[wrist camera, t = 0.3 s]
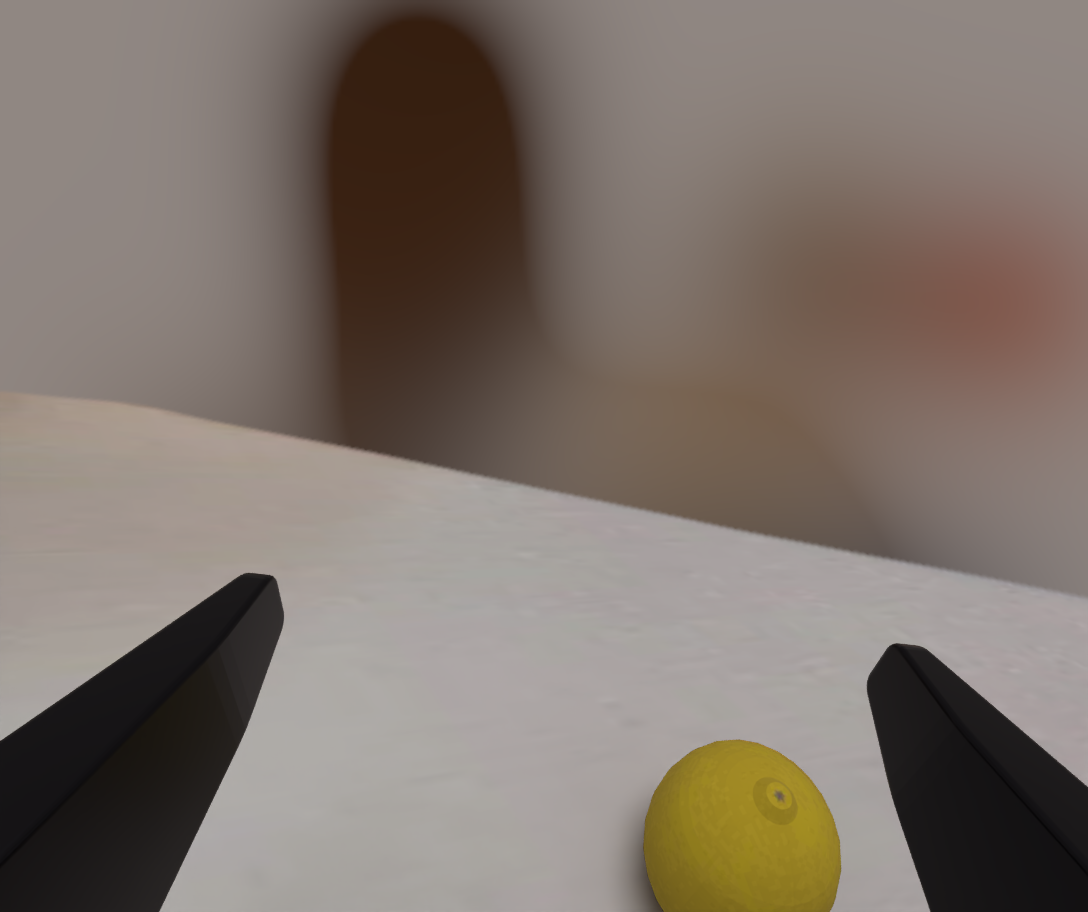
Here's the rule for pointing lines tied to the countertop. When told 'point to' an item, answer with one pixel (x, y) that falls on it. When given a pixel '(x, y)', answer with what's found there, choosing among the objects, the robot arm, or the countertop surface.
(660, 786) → the lemon
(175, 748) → the robot arm
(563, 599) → the countertop surface
